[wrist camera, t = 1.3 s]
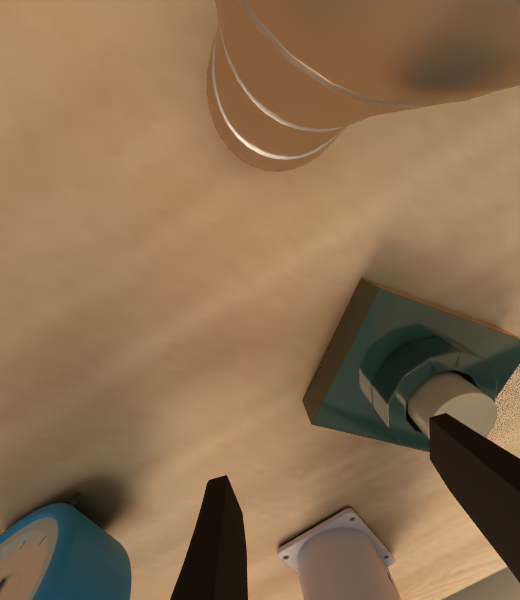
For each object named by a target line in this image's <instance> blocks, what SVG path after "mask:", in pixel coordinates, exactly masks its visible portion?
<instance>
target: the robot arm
mask: <svg viewBox="0 0 520 600" xmlns="http://www.w3.org/2000/svg"><path fill="white" fill-rule="evenodd" d="M429 434H430V460H431V461H432V463H433V465H434V466H435V468H436V470H437V471H438V473H439V474H440V476H441V478H442V479H443V481H444V482H445V484H446V486H447V487H448V489H449V490H450V492H451V493H452V494H453V496H454V497H455V498H456V500H457V501H458V502H459V503H460V505H461V506H462V507H463V509H464V510H465V511H466V513H467V514H468V515H469V517H470V518H471V519H472V520H473V522H474V523H475V524H476V526H477V527H478V528H479V530H480V531H481V532H482V533H483V535H484V536H485V537H486V539H487V540H488V541H489V543H490V544H491V545H492V546H493V548H494V549H495V550H496V552H497V553H498V554H499V556H500V557H501V558H502V559H503V561H504V562H505V563H506V565H507V566H508V567H509V569H510V570H511V571H512V573H513V574H514V576H515V577H516V578H517V580H518V581H519V582H520V459H519V458H518V457H516V456H514V455H513V454H511V453H509V452H508V451H506V450H504V449H503V448H501V447H499V446H498V445H496V444H495V443H493V442H491V441H490V440H488V439H487V438H485V437H483V436H482V435H480V434H479V433H477V432H476V431H474V430H472V429H471V428H469V427H468V426H466V425H465V424H463V423H461V422H460V421H458V420H457V419H455V418H454V417H452V416H450V415H449V414H447V413H444V414H440V415H437V416H433V417H430V418H429ZM277 554H278V557H279V558H280V559H281V560H283V561H284V562H285V563H286V564H287V565H288V566H289V567H291V568H292V569H293V570H294V571H295V572H296V573H297V574H299V577H300V582H301V587H302V592H303V597H304V600H402V599H401V597H400V595H399V593H398V590H397V588H396V586H395V583H394V581H393V579H392V577H391V574H390V572H389V570H388V568H387V567H389V566H390V565H392V564H394V562H395V559H394V557H393V555H392V554H391V553H390V552H389V550H388V549H387V548H386V547H385V546H384V545H383V544H382V542H381V541H380V540H379V539H378V538H377V537H376V535H375V534H374V533H373V532H372V531H371V530H370V529H369V527H368V526H367V525H366V524H365V523H364V522H363V521H362V519H361V518H360V517H359V516H358V515H357V514H356V513H355V511H354V510H353V509H351V508H347V509H345V510H343V511H341V512H340V513H338V514H336V515H335V516H333V517H331V518H329V519H328V520H326V521H324V522H323V523H321V524H319V525H317V526H316V527H314V528H312V529H311V530H309V531H307V532H305V533H304V534H302V535H300V536H299V537H297V538H295V539H293V540H292V541H290V542H288V543H287V544H285V545H283V546H281V547H280V548H278V550H277ZM170 600H248V587H247V551H246V540H245V531H244V523H243V514H242V511H241V508H240V506H239V504H238V501H237V499H236V496H235V494H234V491H233V489H232V487H231V484H230V482H229V479H228V477H227V475H225V476H222V477H218V478H215V479H211V480H209V481H208V483H207V486H206V490H205V494H204V498H203V502H202V506H201V509H200V513H199V516H198V520H197V523H196V526H195V530H194V533H193V536H192V539H191V542H190V545H189V548H188V551H187V554H186V558H185V561H184V563H183V566H182V569H181V572H180V574H179V577H178V580H177V583H176V585H175V588H174V591H173V593H172V596H171V599H170Z"/></svg>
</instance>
